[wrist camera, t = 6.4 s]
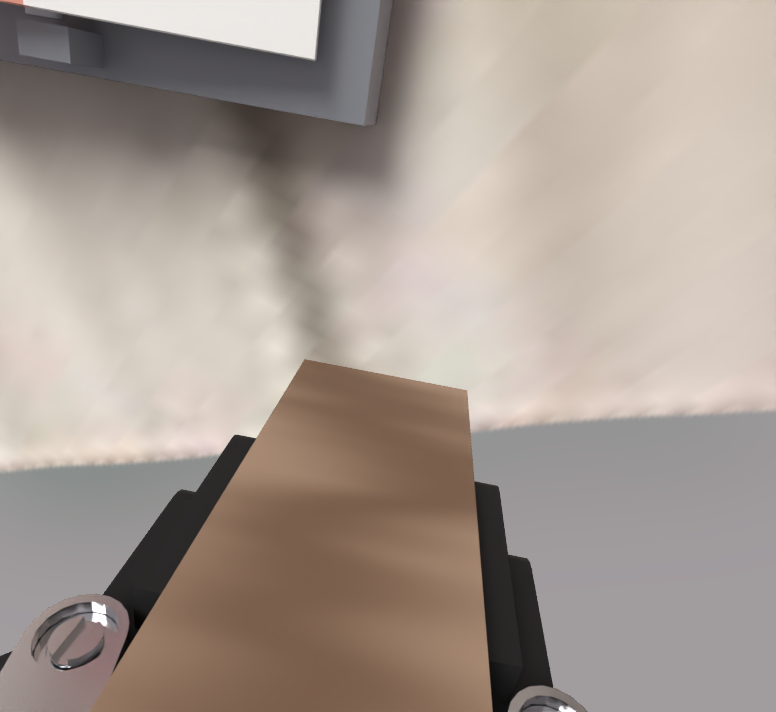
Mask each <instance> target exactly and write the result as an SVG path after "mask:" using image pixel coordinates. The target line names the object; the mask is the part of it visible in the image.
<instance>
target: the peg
mask: <svg viewBox="0 0 776 712" xmlns="http://www.w3.org/2000/svg"><path fill="white" fill-rule="evenodd" d="M473 473H474V472H473V459H472V448H471V434H470V422H469V409H468V397H467V390H461V389H456V388H451V387H446V386H441V385H435V384H430V383H425V382H420V381H415V380H409V379H404V378H399V377H394V376H389V375H383V374H378V373H373V372H368V371H363V370H357V369H352V368H347V367H342V366H337V365H332V364H326V363H321V362H316V361H311V360H306V359H305V360H304V362H303V363H302V365H301V366H300V368H299V370H298V371H297V373H296V375H295V376H294V378H293V379H292V381H291V383H290V384H289V386H288V388H287V389H286V391H285V393H284V394H283V396H282V397H281V399H280V401H279V402H278V404H277V406H276V407H275V409H274V411H273V412H272V414H271V415H270V417H269V419H268V420H267V422H266V424H265V425H264V427H263V428H262V430H261V432H260V433H259V435H258V437H257V438H256V440H255V442H254V443H253V445H252V446H251V448H250V450H249V451H248V453H247V455H246V456H245V458H244V460H243V461H242V463H241V464H240V466H239V468H238V469H237V471H236V473H235V474H234V476H233V477H232V479H231V481H230V482H229V484H228V486H227V487H226V489H225V491H224V492H223V494H222V495H221V497H220V499H219V500H218V502H217V504H216V505H215V507H214V509H213V510H212V512H211V513H210V515H209V517H208V518H207V520H206V522H205V523H204V525H203V527H202V528H201V530H200V531H199V533H198V535H197V536H196V538H195V540H194V541H193V543H192V544H191V546H190V548H189V549H188V551H187V553H186V554H185V556H184V558H183V559H182V561H181V562H180V564H179V566H178V567H177V569H176V571H175V572H174V574H173V576H172V577H171V579H170V580H169V582H168V584H167V585H166V587H165V589H164V590H163V592H162V593H161V595H160V597H159V598H158V600H157V602H156V603H155V605H154V607H153V608H152V610H151V611H150V613H149V615H148V616H147V618H146V620H145V621H144V623H143V625H142V626H141V628H140V629H139V631H138V633H137V634H136V636H135V638H134V639H133V641H132V642H131V644H130V646H129V647H128V649H127V651H126V652H125V654H124V656H123V657H122V659H121V660H120V662H119V664H118V665H117V667H116V669H115V670H114V672H113V674H112V675H111V677H110V678H109V680H108V682H107V683H106V685H105V687H104V688H103V690H102V692H101V693H100V695H99V696H98V698H97V700H96V701H95V703H94V705H93V706H92V708H91V709H90V711H89V712H493V709H492V697H491V684H490V672H489V659H488V647H487V634H486V622H485V609H484V597H483V584H482V572H481V559H480V547H479V534H478V522H477V509H476V497H475V484H474V474H473Z"/></svg>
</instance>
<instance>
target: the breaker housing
mask: <svg viewBox="0 0 776 712" xmlns="http://www.w3.org/2000/svg"><path fill="white" fill-rule="evenodd" d="M392 4H393V0H322V4H321V15H320V25H319V36H318V47H317V58H316V61H311V60H306V59H301V58H295V57H290V56H285V55H279V54H274V53H269V52H263V51H258V50H253V49H247V48H242V47H237V46H231V45H226V44H221V43H216V42H210V41H205V40H200V39H194V38H189V37H184V36H178V35H173V34H168V33H162V32H157V31H152V30H146V29H141V28H136V27H130V26H125V25H120V24H114V23H109V22H104V21H98V20H93V19H88V18H82V17H77V16H72V15H66V14H63V20H64V21H61V20H55V19H50V18H45V17H40V16H35V15H31V14H27V13H25V7H24V6H18V5H13V4H8V3H2V2H0V60H2V61H8V62H13V63H19V64H24V65H30V66H35V67H41V68H46V69H52V70H57V71H63V72H68V73H74V74H80V75H85V76H91V77H96V78H102V79H107V80H113V81H118V82H124V83H129V84H135V85H140V86H146V87H151V88H157V89H162V90H168V91H173V92H179V93H184V94H190V95H196V96H201V97H207V98H212V99H218V100H223V101H229V102H234V103H240V104H245V105H251V106H256V107H262V108H267V109H273V110H278V111H284V112H289V113H295V114H300V115H306V116H312V117H317V118H323V119H328V120H334V121H339V122H345V123H350V124H356V125H361V126H368V125H376V118H377V111H378V104H379V97H380V90H381V83H382V76H383V68H384V61H385V54H386V47H387V40H388V33H389V26H390V19H391V11H392Z"/></svg>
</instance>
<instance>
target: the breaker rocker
mask: <svg viewBox="0 0 776 712" xmlns="http://www.w3.org/2000/svg"><path fill="white" fill-rule="evenodd" d="M0 2H2V3H8V4H13V5H18V6H24V7H25V13H27V14H31V15H35V16H40V17H45V18H50V19H55V20H61V21H64V20H63V14H66V15H72V16H77V17H82V18H88V19H93V20H98V21H104V22H109V23H114V24H120V25H125V26H130V27H136V28H141V29H146V30H152V31H157V32H162V33H168V34H173V35H178V36H184V37H189V38H194V39H200V40H205V41H210V42H216V43H221V44H226V45H231V46H237V47H242V48H247V49H253V50H258V51H263V52H269V53H274V54H279V55H285V56H290V57H295V58H301V59H306V60H311V61H316V58H317V47H318V36H319V25H320V15H321V4H322V0H0Z"/></svg>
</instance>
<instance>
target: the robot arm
mask: <svg viewBox="0 0 776 712" xmlns="http://www.w3.org/2000/svg"><path fill="white" fill-rule="evenodd" d="M255 440H256V438H251V437H246V436H241V435H234V436H233V438H232V439H231V440H230V442H229V443H228V445H227V446H226V448H225V449H224V451H223V452H222V454H221V455H220V457H219V458H218V460H217V462H216V463H215V464H214V466H213V467H212V469H211V470H210V472H209V473H208V475H207V476H206V478H205V479H204V481H203V483H202V484H201V485H200V487H199V488H198V490H197V491H196V492H192V491H187V490H180V491H178V492H177V493H176V494H175V495H174V496H173V498H172V499H171V501H170V502H169V503H168V505H167V506H166V508H165V509H164V510H163V512H162V513H161V514H160V516H159V517H158V519H157V520H156V521H155V523H154V524H153V526H152V527H151V528H150V530H149V531H148V533H147V534H146V535H145V537H144V538H143V540H142V541H141V542H140V544H139V545H138V547H137V548H136V549H135V551H134V552H133V553H132V555H131V556H130V558H129V559H128V560H127V562H126V563H125V565H124V566H123V567H122V569H121V570H120V571H119V573H118V574H117V576H116V577H115V578H114V580H113V581H112V583H111V584H110V585H109V587H108V588H107V590H106V591H105V592H104V594H103V595H100V594H86V595H78V596H75V597H72V598H68V599H65V600H62V601H60V602H59V603H57V604H55V605H53V606H51V607H49V608H48V609H46V610H45V611H44V612H42V613H41V614H40V615H39V616H38V617H36V618H35V619H34V620H33V621H32V623H31V624H30V625H29V626H28V628H27V629H26V630H25V631H24V633H23V635H22V636H21V638H20V640H19V642H18V643H17V645H16V646H15V648H14V650H13V651H12V652H9V653H7V654H4V655H2V656H0V712H89V711H90V709H91V708H92V706H93V705H94V703H95V701H96V700H97V698H98V696H99V695H100V693H101V692H102V690H103V688H104V687H105V685H106V683H107V682H108V680H109V678H110V677H111V675H112V674H113V672H114V670H115V669H116V667H117V665H118V664H119V662H120V660H121V659H122V657H123V656H124V654H125V652H126V651H127V649H128V647H129V646H130V644H131V642H132V641H133V639H134V638H135V636H136V634H137V633H138V631H139V629H140V628H141V626H142V625H143V623H144V621H145V620H146V618H147V616H148V615H149V613H150V611H151V610H152V608H153V607H154V605H155V603H156V602H157V600H158V598H159V597H160V595H161V593H162V592H163V590H164V589H165V587H166V585H167V584H168V582H169V580H170V579H171V577H172V576H173V574H174V572H175V571H176V569H177V567H178V566H179V564H180V562H181V561H182V559H183V558H184V556H185V554H186V553H187V551H188V549H189V548H190V546H191V544H192V543H193V541H194V540H195V538H196V536H197V535H198V533H199V531H200V530H201V528H202V527H203V525H204V523H205V522H206V520H207V518H208V517H209V515H210V513H211V512H212V510H213V509H214V507H215V505H216V504H217V502H218V500H219V499H220V497H221V495H222V494H223V492H224V491H225V489H226V487H227V486H228V484H229V482H230V481H231V479H232V477H233V476H234V474H235V473H236V471H237V469H238V468H239V466H240V464H241V463H242V461H243V460H244V458H245V456H246V455H247V453H248V451H249V450H250V448H251V446H252V445H253V443H254V442H255ZM474 484H475V497H476V509H477V522H478V534H479V547H480V559H481V572H482V584H483V597H484V609H485V622H486V634H487V647H488V659H489V672H490V684H491V697H492V709H493V712H587V711H586V709H585V708H584V707H583V706H582V705H581V704H579V703H578V702H577V701H576V700H575V699H573V698H572V697H571V696H569V695H567V694H565V693H563V692H562V691H560V690H558V689H555V688H553V684H552V678H551V673H550V667H549V662H548V657H547V651H546V645H545V640H544V635H543V629H542V623H541V618H540V612H539V607H538V601H537V596H536V590H535V585H534V580H533V574H532V568H531V565H530V562H529V561H528V559H527V558H522V557H517V556H512V555H508V552H507V544H506V537H505V529H504V522H503V514H502V506H501V499H500V492H499V487H498V486H495V485H490V484H485V483H480V482H475V481H474Z"/></svg>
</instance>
